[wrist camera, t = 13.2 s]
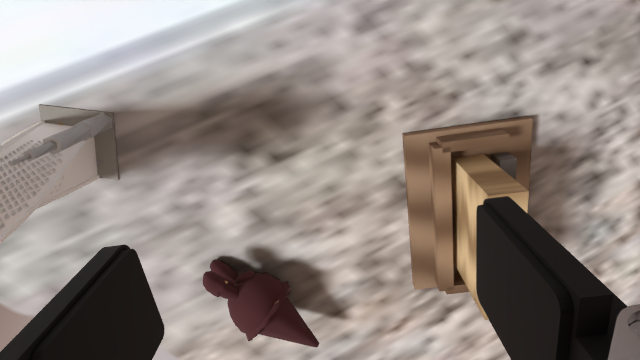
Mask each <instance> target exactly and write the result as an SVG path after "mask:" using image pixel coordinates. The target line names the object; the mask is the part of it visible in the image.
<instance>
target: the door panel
mask: <svg viewBox="0 0 640 360" xmlns="http://www.w3.org/2000/svg"><path fill="white" fill-rule="evenodd" d="M452 165H453V262H454V264H455V266H456V267H457V269H458V271H459V273H460V275H461V277H462V279H463V280H464V282H465V284H466V286H467V288H468V290H469V291H470V293H471V295H472V297H473V299H474V301H475V302H476V304H477V306H478V308H479V310H480V312H481V313H482V315H483V317H484V319H485V320H487V319H488V317H487V315H486V313H485V312H484V310H483V308H482V306H481V304H480V302H479V300H478V296H477V291H476V211H477V206H478V205H483V202H484V200H485V199H488V198H496V197H504V196H509V197H510V198H511V199H512V200H514V201H515V202H516V203H517V204H518V205H519V206H520V207H521V208H522V209H523V210H524V211H525V212H526V213H527V210H528V196H529V191H528V190H527V189H526V188H524V187H523V186H522V185H521V184H519V183H518V182H517V181H516V180H515V179H513V178H512V177H511V176H510V175H508V174H507V173H506V172H505V171H504V170H502V169H501V168H500V167H499V166H498V165H496V164H495V163H494V162H493V161H491V160H490V159H489V158H488V157H487V156H485V155H484V154H480V155H472V156H464V157H456V158H452Z"/></svg>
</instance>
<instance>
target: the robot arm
mask: <svg viewBox="0 0 640 360" xmlns="http://www.w3.org/2000/svg"><path fill="white" fill-rule="evenodd" d="M476 291H477V296H478V300H479V302H480V304H481V306H482V308H483V310H484V312H485V313H486V315H487V317H488V319H489V320H490V322H491V324H492V326H493V328H494V329H495V331H496V333H497V335H498V337H499V338H500V340H501V342H502V344H503V346H504V347H505V349H506V351H507V353H508V355H509V356H510V358H511V360H640V304H638V305H632V306H628V307H627V306H626V305H625V304H624V303H623V302H622V301H621V300H620V299H619V298H618V297H617V296H616V295H615V294H614V293H612V292H611V291H610V290H609V289H608V288H607V287H606V286H605V285H604V284H603V283H602V282H601V281H600V280H599V279H597V278H596V277H595V276H594V275H593V274H592V273H591V272H590V271H589V270H588V269H587V268H586V267H585V266H584V265H583V264H581V263H580V262H579V261H578V260H577V259H576V258H575V257H574V256H573V255H572V254H571V253H570V252H569V251H568V250H566V249H565V248H564V247H563V246H562V245H561V244H560V243H558V242H557V241H556V240H555V239H554V238H553V237H552V236H551V235H550V234H549V233H548V232H547V231H546V230H545V229H543V228H542V227H541V226H540V225H539V224H538V223H537V222H536V221H535V220H534V219H533V218H532V217H531V216H530V215H528V214H527V213H526V212H525V211H524V210H523V209H522V208H521V207H520V206H519V205H518V204H517V203H516V202H515V201H514V200H512V199H511V198H510V197H509V196H504V197H496V198H488V199H485V200H484V202H483V205H478V206H477V211H476ZM163 336H164V324H163V321H162V319H161V316H160V314H159V311H158V308H157V306H156V303H155V300H154V298H153V295H152V292H151V290H150V287H149V284H148V282H147V279H146V276H145V274H144V271H143V268H142V266H141V263H140V260H139V258H138V255H137V253H136V251H135V250H134V249H130V248H129V247H128V246H127V245H119V246H111V247H104V248H102V249H101V250H100V251H99V252H98V253H97V254H96V255H95V256H94V257H93V258H92V259H91V260H90V261H89V262H88V263H87V264H86V265H85V266H84V267H83V268H82V269H81V270H80V271H79V272H78V273H77V274H76V275H75V276H74V277H73V278H72V279H71V280H70V282H69V283H68V284H67V285H66V286H65V287H64V288H63V289H62V290H61V291H60V292H59V293H58V294H57V295H56V296H55V297H54V298H53V299H52V300H51V301H50V302H49V303H48V304H47V305H46V306H45V307H44V308H43V309H42V310H41V311H40V312H39V313H38V314H37V315H36V316H35V317H34V318H33V319H32V320H31V321H30V323H28V324H27V326H25V327H24V329H22V331H21V332H20V333H19V334H18V335H17V336H16V337H15V338H14V339H13V340H12V341H11V342H10V343H9V344H8V345H7V346H6V347H5V348H4V349H3V350H2V351H1V352H0V360H152V358H153V356H154V355H155V353H156V351H157V349H158V347H159V345H160V343H161V341H162V339H163Z"/></svg>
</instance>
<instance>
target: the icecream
mask: <svg viewBox="0 0 640 360" xmlns="http://www.w3.org/2000/svg"><path fill="white" fill-rule="evenodd" d="M210 268H211V271H209V272H205V274H204V276H203V285H204V287H205V288H206V290H207V291H209V292H210V293H211V294H213V295H214V296H217V297H220V296H221V297H223V298H226V299H228V307H229V312H230V316H231V318H232V320H233V322H234V323H235V325H236V326H237V327H238V328H239V329H240V331H241V332H243V333H246V336H247V339H248V341H250V340H252V339H253V338H254V337H256V336H257V335H258V334H261V335H265V336H269V337H274V338H278V339H282V340H287V341H291V342H295V343H299V344H303V345H308V346H312V347H318V345H319V342H318V341H317V339H316V338H315V336H314V335H313V333H312V332H311V331H310V329H309V328H308V326H307V325H306V323H305V322H304V320H303V319H302V318H301V316H300V315H299V313H298V312H297V310H296V309H295V307H294V306H293V304H292V303H291V302H290V300H289V299H288V297H287V295H288V294H289V293H290V292H291V288H290V286H289V285H288V282H283V283H282V282H281V281H280V280H279V279H276V278H274V277H272V276H271V275H270V274H268V273H264V274H261V273H254V272H252V271H247V272H243V273H241V274H240V275H238V274H237V273H236V272H235V271H234V270H233V269H232V268H230V267H229V266H228V265H226V264H225V263H223V262H222V261H220V260H213V261H212V262H211V264H210Z"/></svg>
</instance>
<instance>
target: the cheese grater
mask: <svg viewBox="0 0 640 360" xmlns="http://www.w3.org/2000/svg"><path fill="white" fill-rule="evenodd" d="M39 110H40V117H41V121H40V122H38V123H36V124H34V125H32V126H31V127H29V128H27V129H25V130H23V131H21V132H19V133H18V134H16V135H14V136H12V137H11V138H9V139H8V140H6V141H4V142H3V143H1V144H0V243H1V242H3V241H4V240H5V239H6V238H7V237H8V236H9V235H10V234H12V233H13V232H14V231H15V230H16V229H17V228H18V227H19V226H20V225H21V224H22V223H23V222H24V221H25V220H26V219H27V218H28V217H29V216H30V215H31V214H32V213H33V211H34V210H35V209H37V208H40V207H42V206H44V205H46V204H48V203H50V202H52V201H54V200H56V199H59V198H61V197H63V196H65V195H67V194H69V193H71V192H73V191H75V190H77V189H79V188H81V187H83V186H85V185H87V184H89V183H91V182H93V181H95V180H97V179H99V178H104V179H113V180H119V175H118V163H117V151H116V139H115V127H114V116H113V113H109V112H100V111H92V110H83V109H74V108H65V107H56V106H48V105H39Z"/></svg>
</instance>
